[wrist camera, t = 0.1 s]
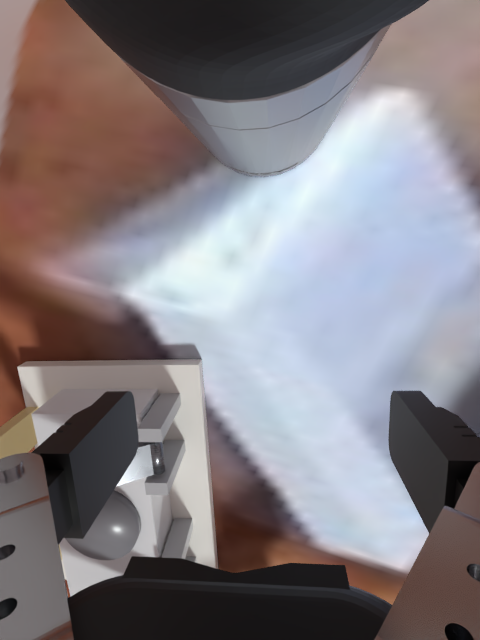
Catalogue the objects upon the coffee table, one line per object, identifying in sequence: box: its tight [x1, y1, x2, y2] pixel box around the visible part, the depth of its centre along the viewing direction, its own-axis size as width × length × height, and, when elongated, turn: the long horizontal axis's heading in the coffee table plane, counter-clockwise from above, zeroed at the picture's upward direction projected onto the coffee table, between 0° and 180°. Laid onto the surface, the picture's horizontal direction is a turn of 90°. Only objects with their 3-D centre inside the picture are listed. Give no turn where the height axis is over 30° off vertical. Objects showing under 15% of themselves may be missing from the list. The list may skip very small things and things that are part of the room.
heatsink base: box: [0, 359, 218, 596], centre depth 30 cm, size 22×15×6 cm
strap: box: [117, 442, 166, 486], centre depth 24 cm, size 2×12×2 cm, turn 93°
